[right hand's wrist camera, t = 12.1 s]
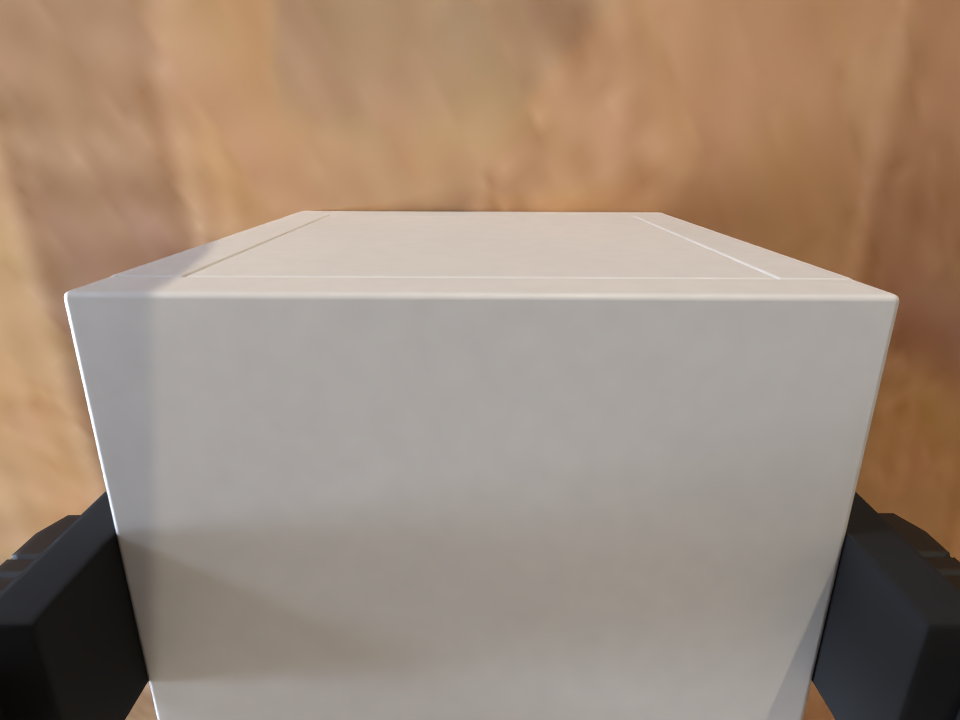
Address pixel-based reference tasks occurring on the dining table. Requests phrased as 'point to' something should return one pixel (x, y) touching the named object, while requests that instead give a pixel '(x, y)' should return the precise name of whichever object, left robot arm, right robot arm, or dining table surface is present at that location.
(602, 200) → the dining table surface
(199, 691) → the cabinet
